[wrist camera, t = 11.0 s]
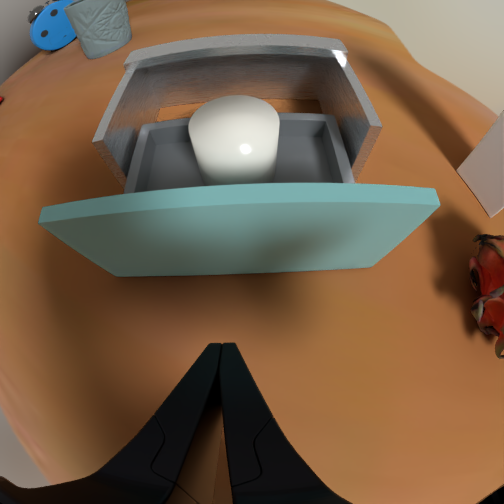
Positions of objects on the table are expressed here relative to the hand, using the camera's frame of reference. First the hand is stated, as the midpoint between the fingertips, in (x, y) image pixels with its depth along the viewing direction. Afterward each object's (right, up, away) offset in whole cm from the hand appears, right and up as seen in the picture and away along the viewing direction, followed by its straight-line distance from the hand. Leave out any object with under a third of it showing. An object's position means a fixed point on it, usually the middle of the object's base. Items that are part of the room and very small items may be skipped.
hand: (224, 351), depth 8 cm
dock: (0, +13, +13) cm, 18 cm away
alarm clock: (-43, +52, +28) cm, 73 cm away
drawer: (0, +8, +11) cm, 13 cm away
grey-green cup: (-23, +38, +23) cm, 50 cm away
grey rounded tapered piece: (0, +9, +10) cm, 13 cm away
